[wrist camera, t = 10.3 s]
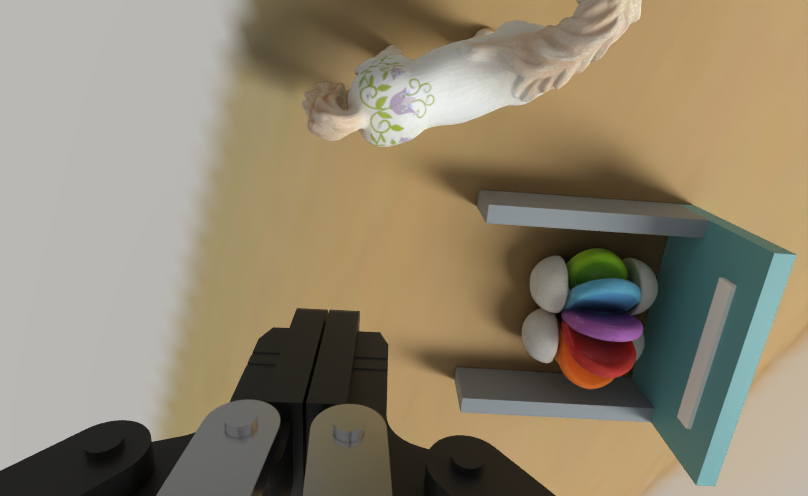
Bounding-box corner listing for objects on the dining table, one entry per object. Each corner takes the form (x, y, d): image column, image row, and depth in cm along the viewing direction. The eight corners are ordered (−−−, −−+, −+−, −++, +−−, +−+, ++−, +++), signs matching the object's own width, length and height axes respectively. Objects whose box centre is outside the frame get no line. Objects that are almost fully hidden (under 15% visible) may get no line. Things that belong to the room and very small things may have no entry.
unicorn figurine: (623, 26, 33) (766, 5, 20) (363, 188, 36) (348, 258, 23) (573, -87, 31) (699, -189, 18) (302, 96, 34) (248, 118, 21)
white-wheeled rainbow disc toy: (512, 352, 41) (536, 411, 34) (531, 235, 37) (562, 274, 31) (619, 358, 41) (664, 418, 34) (647, 242, 38) (703, 282, 31)
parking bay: (478, 189, 36) (509, 235, 27) (693, 205, 37) (796, 254, 27) (454, 380, 41) (472, 474, 32) (642, 390, 42) (714, 486, 32)
